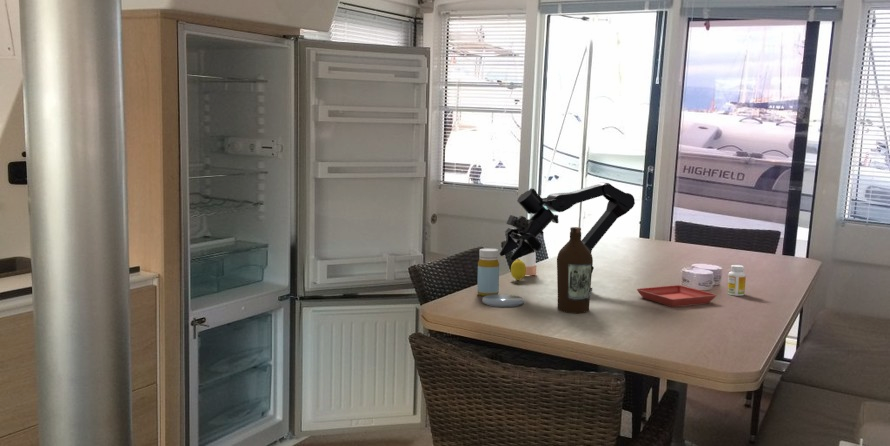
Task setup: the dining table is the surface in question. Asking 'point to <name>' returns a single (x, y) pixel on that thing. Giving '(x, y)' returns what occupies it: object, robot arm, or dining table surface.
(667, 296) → the plant saucer
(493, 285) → the bottle
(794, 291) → the dining table surface
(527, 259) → the pepper shaker
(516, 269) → the lemon
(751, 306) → the dining table surface
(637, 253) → the dining table surface
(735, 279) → the supplement bottle
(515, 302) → the stand
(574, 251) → the olive oil
